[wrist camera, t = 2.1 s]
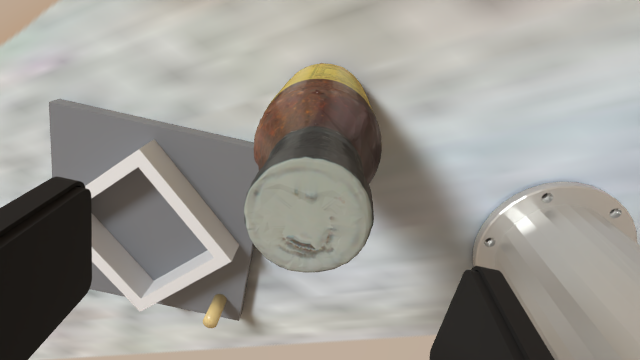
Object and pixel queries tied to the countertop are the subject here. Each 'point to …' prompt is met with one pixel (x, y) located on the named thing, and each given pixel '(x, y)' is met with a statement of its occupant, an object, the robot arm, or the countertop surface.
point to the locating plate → (160, 207)
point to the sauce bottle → (314, 172)
